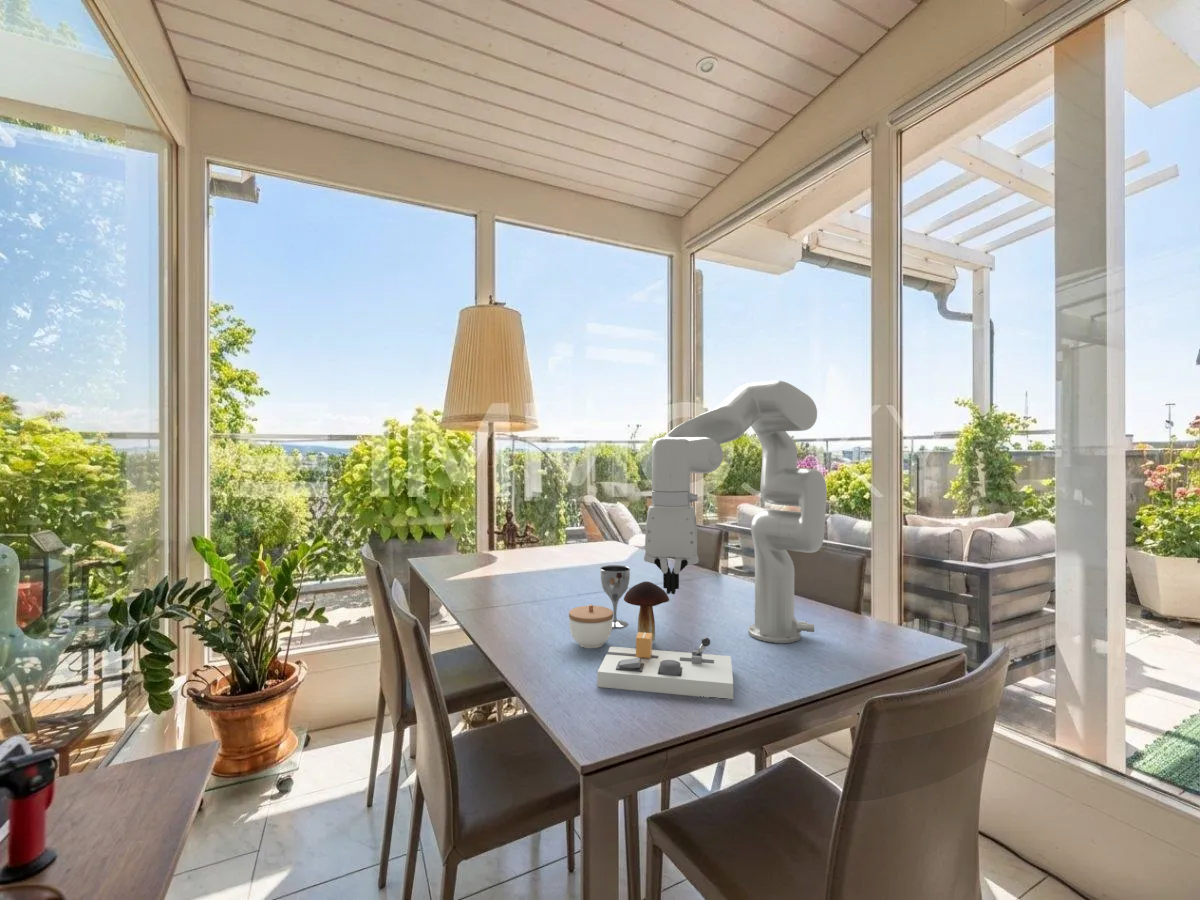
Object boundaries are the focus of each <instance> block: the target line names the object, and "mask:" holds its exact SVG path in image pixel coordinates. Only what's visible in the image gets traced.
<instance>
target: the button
mask: <svg viewBox="0 0 1200 900" xmlns="http://www.w3.org/2000/svg"><path fill="white" fill-rule="evenodd" d="M660 675H670V676H680V663H679V662H678V661H675V660H663V661H661V662H660Z"/></svg>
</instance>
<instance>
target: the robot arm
mask: <svg viewBox="0 0 1200 900" xmlns="http://www.w3.org/2000/svg"><path fill="white" fill-rule="evenodd" d="M817 418H818V409H817V406H816V403H815V402H814V400H813V399H812V397H810V396H809V395H808V394H807V393H805V392H804V391H802V390H801V389H799V388H798V387H796V386H794V385H792V384H791V383H789V382H786V381H783V380H769V381H757V382H749V383H746V384H745V383H744V384H742V385H740V386H738V387H737V388H736V389H735V390H734V391H733V392H732V393H730V394H729V395H728V396H727V397H726V398H725V399H724V400H722V402H720V404H718V405H717V406H716V407H715V408H713V409H710V410H709V411H706V412H704V413H701V414H699V415H697V416H695V417H692V418H690V419H688V420H686V421H684V422H682V423H680V424H679V425H677V426H675V427H674V428H672V430H670V431H669V432H668V433H667V434H665V435H664V437H657V438H655V439H654V440H653V442H652V445H651V505H649V506H648V510H647V513H646V514H647V515H646V521H645V522H646V523H645V539H644V541H645V542H644V549H645V550H644V551H645V553H644V557H643V561H644V562H646V563H649V564H654V565H655V566H656V567H657V568H658V569H659V570H660V571H661V572H662V576H663V577H662V578H663V581H662V582H663V585H662V586H663V588H662V589H666V594H667V595H670V594H671V595H675V594H676V591H677V590H679V589H680V572H682V571H683V569H685V567H687V566H692V565H695V564H698V563H699V556H698V528H697V527H698V526H697V525H698V524H697V516H696V511H695V510H696V509H695V507H694V506H691V504H692V503H694V502H699V501H698V500H699V499H698V497H699V496H698V494H694V493H693V492H691V474H709V473H712V472H715V471H716V470H717V469H718V468H720V466H721V465H722V462H723V460H724V450H723V448H722V446H721V445H723V444H727V443H729V442H732V441H736V440H738V439H739V438H741V436H743V434H744V433H745V432H747V430H749V428H750V427H751V428H752V430H753V431H754V433H755V434H756V437H757V438H758V440H759V443H760V445H761V450H762V451H761V452H762V453H761V455H762V457H761V459H762V460H761V470H760V471H761V473H760V484H759V485H760V488H759V489H760V490H759V491H760V497H761V499H762V500H763V501H764V502H765V503H767V504H770V505H776V506H789V507H798V508H800V512H798V511H789V510H780V509H779V510H778V509H777V510H776V509H767V510H766V509H764V510H761V511H758V512H757V513H756V514H754V515H753V517H752V520H751V522H750V523H751V524H750V533H751V537H752V542H753V549H754V551H753V552H754V623H753V624H751V625H749V627H748V634H749V635H750V636H751V637H753V638H754V639H756V640H759V641H762V640H763V642H766V641H767V642H766V643H772V642H774V643H775V644H790V643H791V642H792V643H795V641H796V642H798V641H799V639H800V640H801V635H802V634H801V633H802V632H810V633H814V632H815V624H814V623H808V621H798V619H796V617H795V565H794V562H793V559H792V557H791V556H790V554H789V552H788V551H792V552H798V553H799V552H801V553H808V554H811V553H816V552H818V551H819V550H821V547H822V545H823V544H824V543H823V542H824V539H825V530H826V529H825V528H826V509H827V493H828V492H827V490H828V489H827V482H826V479H825V476H824V475H823V473H821V472H820V471H819V470H817V469H815V468H814V469H813V468H802V467H799V468H798V467H797V466H798V464H797V463H798V448H797V445H796V443H795V441H794V440H793V439H792V437H791V436H790V434H789V433H788V432H802V431H803V432H804V431H807V430H809V429H812V428H813V427H814V426H815V424H816V422H817ZM668 559H675V560H674V566H673V567H672V570H671V568H670V567H669V560H668Z"/></svg>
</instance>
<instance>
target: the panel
mask: <svg viewBox="0 0 1200 900" xmlns="http://www.w3.org/2000/svg"><path fill="white" fill-rule="evenodd" d="M697 651H698V649H697V650H695V649H692V651H691V652H685V651H684V652H681V651H668V650H659V649H658V650H657V649H652V654H651V657H650V658H644V657H636V647H635V648H632V647H621V646H619V647H618V646H609V648H608V650H607V652H606V655H605V656H604V658H603V660H602V662H601V663H600V666H599V668H598V670H597V672H596V673H597V675H596V676H597V677H596V679H597V682H596V683H597V688H606V689H616V690H626V691H637V692H649V693H659V694H668V695H676V696H677V695H678V696H687V697H688V696H690V697H698V698H699V697H700V696H701V697H700V698H709V697H718V698H717V699H719V698H730V699H733V700H734V678H733V677H734V675H733V667H732V666H733V665H732V656H731V655H719V654H708V653H702V654H701V656H695V654H696V652H697ZM663 660H675V661H678V662H679V663H680V676H670V675H660V662H661V661H663ZM703 696H704V697H703ZM730 699H729V700H730Z"/></svg>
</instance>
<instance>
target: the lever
mask: <svg viewBox="0 0 1200 900" xmlns="http://www.w3.org/2000/svg"><path fill="white" fill-rule="evenodd" d="M710 645H711V640H710V638H709V637H707V636H705V637H703V638H702V639H701V644H700V646H699V648H698V649H697V652H696V654H695V656H701V654H703V653H704V651H705V650H706V648H707V647H709V646H710Z"/></svg>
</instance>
